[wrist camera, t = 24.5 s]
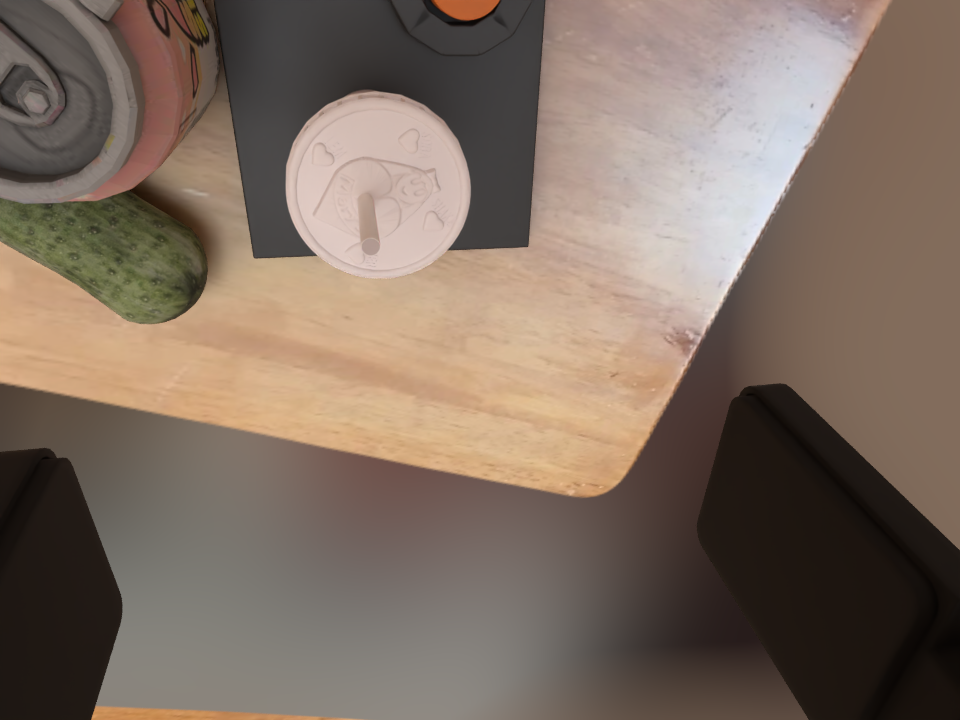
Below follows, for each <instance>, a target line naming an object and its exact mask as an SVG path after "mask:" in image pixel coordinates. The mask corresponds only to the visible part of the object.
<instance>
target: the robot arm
mask: <svg viewBox="0 0 960 720" xmlns="http://www.w3.org/2000/svg"><path fill="white" fill-rule="evenodd" d="M697 533H698V538H699V541H700V544H701V546H702V548H703V549H704V550H705V552H706V554H707V555H708V557H709V559H710V561H711V562H712V563H713V565H714V567H715V568H716V570H717V572H718V573H719V575H720V577H721V578H722V580H723V582H724V583H725V585H726V586H727V588H728V590H729V591H730V593H731V595H732V596H733V598H734V599H735V601H736V603H737V604H738V606H739V607H740V609H741V611H742V612H743V614H744V615H745V617H746V619H747V620H748V622H749V624H750V625H751V627H752V628H753V630H754V631H755V633H756V635H757V636H758V638H759V640H760V641H761V643H762V645H763V646H764V648H765V650H766V651H767V653H768V654H769V656H770V658H771V659H772V661H773V662H774V664H775V665H776V667H777V669H778V671H779V672H780V674H781V675H782V677H783V679H784V680H785V682H786V684H787V685H788V687H789V688H790V690H791V692H792V693H793V695H794V696H795V698H796V700H797V701H798V703H799V705H800V706H801V707H802V709H803V711H804V713H805V714H806V716H807V718H808V719H809V720H960V550H959V549H958V548H957V547H956V546H955V545H953V544H952V543H951V542H950V541H949V540H948V539H947V538H946V537H945V536H944V535H943V534H942V533H941V532H940V531H939V530H938V529H937V528H936V527H935V526H934V525H933V524H932V523H931V522H930V521H929V520H928V519H927V518H925V516H923V515H922V514H921V513H920V512H919V511H918V510H917V509H916V508H915V507H914V506H913V505H912V504H911V503H910V502H909V501H908V500H907V499H906V498H905V497H904V496H903V495H902V494H900V492H899V491H898V490H896V489H895V488H894V487H893V486H892V485H891V484H890V483H889V482H888V481H887V480H886V479H885V478H884V477H883V476H882V475H881V474H880V473H879V472H878V471H877V470H876V469H875V468H874V467H873V466H872V465H871V464H870V463H868V462H867V461H866V460H865V459H864V458H863V457H862V456H861V455H860V454H859V453H858V452H857V451H856V450H855V449H854V448H853V447H852V446H851V445H850V444H849V443H848V442H847V441H846V440H844V438H842V437H841V436H840V435H839V434H838V433H837V432H836V431H835V430H834V429H833V428H832V427H831V426H830V425H829V424H828V423H827V422H826V421H825V420H824V419H823V418H822V417H820V415H819V414H818V413H817V412H816V411H815V410H813V409H812V408H811V407H810V406H809V405H808V404H807V403H806V402H805V401H804V400H803V399H802V398H801V397H800V396H799V395H798V394H797V393H796V392H795V391H794V390H793V389H792V388H790V387H789V386H787V385H786V384H768V385H757V386H748V387H746V388H744V389H743V390H742V391H741V393H740V395H739V397H735V398H734V399H733V400H732V401H731V404H730V406H729V410H728V414H727V417H726V421H725V424H724V428H723V432H722V435H721V439H720V442H719V446H718V450H717V453H716V457H715V460H714V464H713V468H712V471H711V475H710V478H709V482H708V486H707V489H706V493H705V496H704V500H703V504H702V507H701V511H700V514H699V518H698V522H697ZM121 619H122V598H121V594H120V591H119V588H118V586H117V583H116V580H115V578H114V575H113V572H112V570H111V567H110V564H109V562H108V559H107V557H106V554H105V551H104V548H103V546H102V543H101V540H100V538H99V535H98V532H97V530H96V527H95V524H94V522H93V519H92V516H91V514H90V511H89V508H88V506H87V503H86V500H85V498H84V495H83V492H82V490H81V488H80V484H79V482H78V479H77V476H76V474H75V471H74V468H73V466H72V464H71V462H70V461H69V460H68V459H67V458H57V457H56V456H55V454H54V452H53V451H51V450H50V449H47V448H39V449H28V450H17V451H5V452H0V720H91V718H92V715H93V712H94V709H95V705H96V702H97V699H98V695H99V692H100V689H101V685H102V682H103V679H104V676H105V673H106V669H107V666H108V663H109V659H110V656H111V653H112V650H113V646H114V643H115V640H116V636H117V633H118V630H119V627H120V623H121Z"/></svg>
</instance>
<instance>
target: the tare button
mask: <svg viewBox="0 0 960 720" xmlns="http://www.w3.org/2000/svg"><path fill="white" fill-rule="evenodd" d="M431 1H432V3H433V4H434V5H435V6H436V7H437V8H438V9H439V10H440V11H442V12H443V13H445V14H447V15H449V16H451V17H453V18H455V19H459V20H475V19H478V18H481V17H483V16H485V15H487V14H488V13H489V12H491V11H492V10H493V9H494V8H495V6H496V5H497V4H498V3H499V1H500V0H431Z"/></svg>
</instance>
